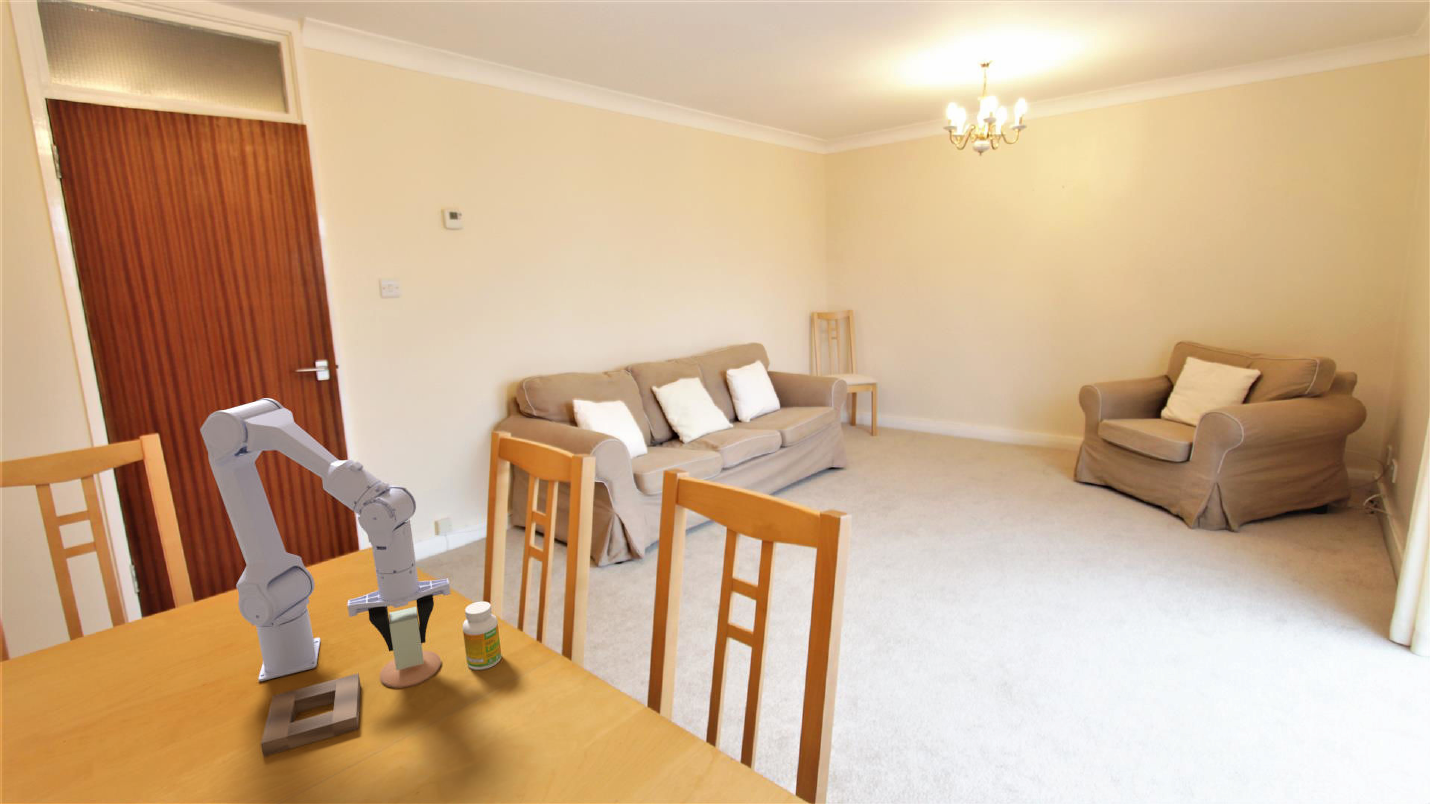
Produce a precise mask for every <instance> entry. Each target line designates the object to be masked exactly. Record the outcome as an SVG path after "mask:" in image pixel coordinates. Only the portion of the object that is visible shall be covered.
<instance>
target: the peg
mask: <svg viewBox="0 0 1430 804" xmlns="http://www.w3.org/2000/svg"><path fill="white" fill-rule="evenodd" d="M388 616H389V625H390V632H391V638H392V645H393V651H392V652H393V657H394V658H393V659H395V665H396V671H397V670H400V669H404V668H408V667H412V666H416V665H419V664H423V663H424V660H423V651H424V650H423V643H421V639H420V630H419V617H418V611H417V606H413V607H409V608H404V609H400V610H396V611H391V612H388Z"/></svg>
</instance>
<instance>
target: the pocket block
mask: <svg viewBox="0 0 1430 804" xmlns="http://www.w3.org/2000/svg"><path fill="white" fill-rule="evenodd" d="M361 685H362V684H361V679H360V673H354V674H351V675H347V676H343V677H340V678H335V679H331V680H327V681H323V682H319V683H316V684H313V685H308V686H305V687H301V688H297V689H294V690H289V691H285V692H281V693H278V694H273V695H272V698H271V699H272V700H271V703H270V706H269V711H268V714H267V718H266V723H265V726H264V730H263V734H262V738H261V741H260V745H261V746H260V747H261V750H262V755H263V757H266V756H270V755H273V754H277V753H280V752H284V751H288V750H291V749H295V748H297V747H302V746H305V745H308V744H312V743H315V742H318V741H322V740H325V739H328V738H332V737H336V736H339V735H343V734H346V733H350V732H353V731H356V730H359V723H360V722H359V718H360V702H361V698H360V697H361ZM331 704H333V710H331V711H328V712H325V713H322V714H318V715H315V716H311V717H307V718H303V719H300V720H296V716H297V714H298V713H302V712H304V711H308V710H312V709H315V708H319V707H323V706H326V705H331Z"/></svg>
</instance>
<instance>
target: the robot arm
mask: <svg viewBox="0 0 1430 804" xmlns="http://www.w3.org/2000/svg"><path fill="white" fill-rule="evenodd" d="M199 431H200V434H201V436H202V439H203V441H204V442H203V443H204V445H205V447H206V451H207V452H208V453H207V454H208V455H207V456H208V457H207V458H208V462H209V465H210V469H211V471H212V474H213V477H214V478H215V479H214V480H215V482H216V485H217V488H218V491H219V493H220V496H221V498H222V501H223V504H224V506H225V510H226V513H227V515H228V517H229V520H230V522H231V527H232V529H233V532H234V534H235V537H236V539H237V542H238V545H239V549H240V550H241V553H242V556H243V559H244V561H245V564H246V566H245V568H244V570H243V572H242V574H241V575H240V577H239V579H238V581H237V582H236V585H235V586H236V587H235V588H236V589H237V592H238V603H237V604H238V605H237V606H238V609H239V612H240V614H241V616H242V617H243V619H244V620H246V621H247V622H248V623H250V624H251V626H255V628H256V633H257V637H258V642H259V643H258V644H259V648H260V652H261V657H262V665H261V669H260V671H259V674H258V677H257V679H258V681H259V682H263V681H267V680H271V679H272V680H273V679H274V678H275V679H276V678H279V677H284V676H288V675H292V674H295V673H299V672H303V671H304V672H305V671H307V670H312V669H314V668H316V667H317V664H318V657H319V653H320V652H319V650H320V646H321V645H320V644H321V638H320V637H315V638H314V635H313V628H312V623H311V617H310V612H309V609H308V605H309V604H310V598H309V597H310V596H311V595H312V594H313V592H314V590H315V586H316V585H315V580H314V577H313V575H312V573H311V572H310V571H309V569H308V568H306V566H305V565H304V563H303V560H302V557H301V556H299V555H296V554H293V553H289V552H287V551H286V548H285V546H284V543H283V539H282V537H281V534H280V532H279V528H278V525H277V523H276V520H275V517H274V514H273V511H272V509H271V505H270V504H269V500H268V497H267V495H266V491H265V489H264V486H263V483H262V480H261V477H260V473H259V471H258V469H257V466H256V461H257V459H258V457H259V456H260V455H261V453H262V452H263V451H266V452H267V451H278V452H280V453H281V454H282V455H284V456H286V457H288V458H290V459H291V460H292V461H294V462H296V463H297V464H299V465H301V466H302V467H304V468H306V469H307V470H308V471H311V472H312V473H313V474H315V475H317V476H318V477H320V478H321V480H322V488H323V490H324V491H325V492H327V493H328V494H330V495H331V496H332V497H334V498H335V499H336V500H338V501H339V502H341V503H342V504H343V505H344V506H346V507H347V508H348V509H350V510H351V511H353V512H354V513H356V514H357V515H358V517H357V521H358V524H359V525H360V527H361V529H362V530H363V531H364V532H365V533H366V534H367V539H368V543H370V545H371V548H372V555H373V561H374V566H375V569H374V570H375V574H376V576H375V577H376V580H377V581H376V582H377V588H378V590H375V591H372V592H369V593H367V594H365V595H361V596H358V597H356V598H350V599H348V600H347V611H348V617H349V618H351V617H356V616H357V615H358V614H359V613H365V612H367V613H368V621H370V623H371V625H372V626H374V628H376V630H377V631H378V632H379V633H380V634H381V636H382V639H384V641H385V643H386V646H387V648H388V652H393V645H392V638H391V632H390V625H389V611H388V610H389V609H388V607H391V606H392V607H393V608H395V609H396V608H400V607H405V606H408V604H409V603H410V602H413V601H416V608H417V615H418V622H419V630H420V639H421V643H422V644H425V643H426V636H427V635H426V634H427V628H428V623H429V620H430V617H431V614H432V612H433V610H434V606H435V605H434V602H435V601H434V597H435V596H440V595H443V596H449V595H451V594H452V593H451V586H450V581H449V578H444V579H437V580H436V579H434V580H423V581H419V577H418V576H419V575H418V568H417V562H416V554H415V546H414V545H415V544H414V538H413V531H412V525H411V520H410V519H411V518H412V517H413V516H414V514H415V513H416V510H417V502H416V500H415V498H414V496H413V494H412V493H411V492H410V491H409V490H408V489H407V488H406V487H405V486H401V485H392V484H389V482H388V483H385V482H384V481H382V480H380V479H379V478H377V477H376V476H375V475H374V474H372V473H370V472H369V471H368V470H366V469H365V468H364V465H363V464H362V463H361V462H360V461H354V460H353V459H344V460H340V459H338V458H337V457H336V456H335V455H333V454H332V453H331V452H330V451H328V449H326V448H325V447H324V446H323V445H322V444H321V443H320V442H318V441H317V440H316V439H314V437H312V436H311V435H310V434H309V433H308V432H306V431H305V430H304V429H303V428H301V426H300V425H298V424H297V423H296V422H295V420H294V415H293V412H292V411H291V410H289V409H287V408H286V407H284V406H283V405H282V404H281V403H280V402H279V401H277V400H275V399H273V398H269V397H267V398H266V397H265V398H261V399H258V400H256V401H254V402H249V403H246V404H241V405H238V406H235V407H232V408H227V409H224V410H217V411H214V412H212V413H210V414H209V415H208V417H207V418H206V420H205V421H204V422H203V424H202V426H201V427H200V429H199Z"/></svg>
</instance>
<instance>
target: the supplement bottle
mask: <svg viewBox="0 0 1430 804" xmlns="http://www.w3.org/2000/svg"><path fill="white" fill-rule="evenodd" d="M464 612H465V620H464V621H463V623H462V634H463V635H462V636H463V642H464V650H465V659H466V665H467V666H468V667H469V668H470V669H471V670H477V671H479V670H487V669H489V668H493V667H494V666H496V665H497V664H498V663H499V662H500V661H501V659H502V651H501V650H502V649H501V641H500V633H499V631H500V630H499V623H498V618H497V616H496V615H495V614H493V613H492V604H491V603H490V602H488V601H476V602H472V603H471V604H469V605H467V606H466V608H465V609H464Z"/></svg>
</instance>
